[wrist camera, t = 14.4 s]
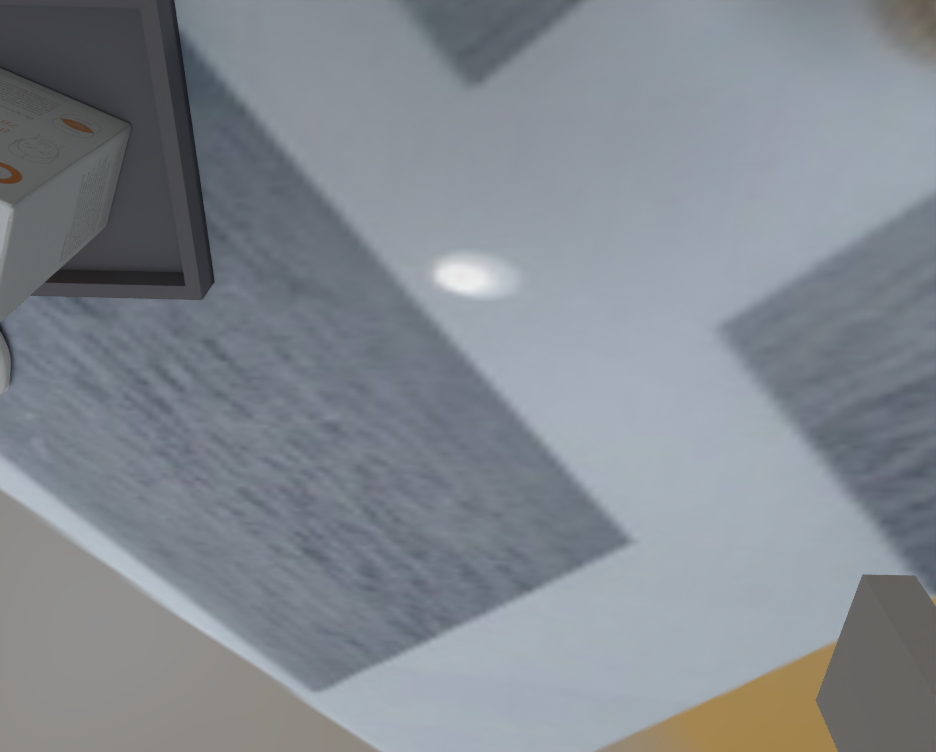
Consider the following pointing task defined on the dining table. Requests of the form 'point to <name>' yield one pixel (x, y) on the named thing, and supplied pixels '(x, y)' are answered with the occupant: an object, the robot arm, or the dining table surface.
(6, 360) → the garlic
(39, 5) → the holder
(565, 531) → the dining table surface
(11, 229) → the small box
